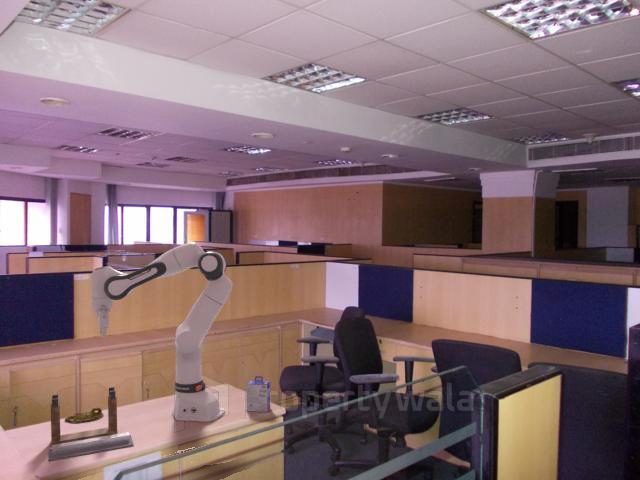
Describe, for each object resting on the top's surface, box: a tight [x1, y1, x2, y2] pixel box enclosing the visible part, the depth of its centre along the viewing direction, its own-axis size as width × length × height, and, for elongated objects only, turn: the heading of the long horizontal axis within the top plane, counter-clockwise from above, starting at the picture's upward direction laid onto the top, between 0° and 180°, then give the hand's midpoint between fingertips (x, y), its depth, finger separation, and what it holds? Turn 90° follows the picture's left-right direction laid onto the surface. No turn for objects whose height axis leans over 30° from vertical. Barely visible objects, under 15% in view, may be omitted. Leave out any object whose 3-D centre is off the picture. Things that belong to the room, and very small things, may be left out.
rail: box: [51, 431, 131, 455], centre depth 191 cm, size 26×3×2 cm, turn 116°
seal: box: [64, 407, 104, 424], centre depth 220 cm, size 9×5×15 cm
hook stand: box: [50, 386, 119, 448], centre depth 200 cm, size 23×6×18 cm, turn 116°
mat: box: [48, 434, 134, 462], centre depth 191 cm, size 28×10×1 cm, turn 116°
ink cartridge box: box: [245, 375, 271, 413], centre depth 229 cm, size 10×6×14 cm, turn 81°
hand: (103, 335), depth 225 cm, fingers open, 8 cm apart
